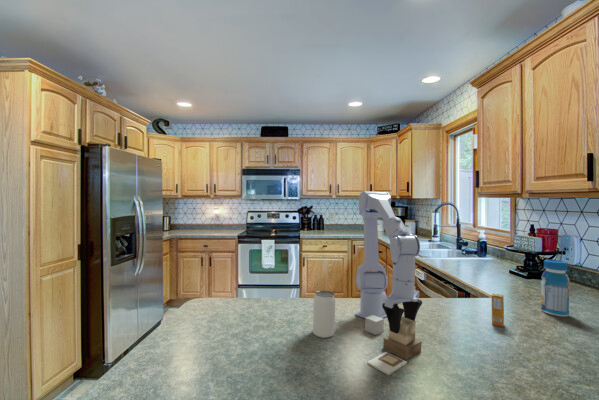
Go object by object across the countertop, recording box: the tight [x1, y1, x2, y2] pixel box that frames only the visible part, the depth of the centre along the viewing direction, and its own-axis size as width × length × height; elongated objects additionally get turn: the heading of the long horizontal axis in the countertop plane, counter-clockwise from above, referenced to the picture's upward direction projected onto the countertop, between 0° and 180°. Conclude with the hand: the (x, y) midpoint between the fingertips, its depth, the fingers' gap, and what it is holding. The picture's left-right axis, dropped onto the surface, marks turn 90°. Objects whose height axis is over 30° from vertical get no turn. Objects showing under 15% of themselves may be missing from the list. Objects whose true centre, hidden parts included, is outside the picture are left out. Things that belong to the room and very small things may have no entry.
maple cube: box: [388, 316, 417, 345], centre depth 78 cm, size 5×5×5 cm
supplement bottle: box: [540, 259, 571, 317], centre depth 110 cm, size 8×8×20 cm
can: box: [312, 290, 336, 339], centre depth 86 cm, size 6×6×12 cm
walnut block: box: [383, 335, 422, 360], centre depth 78 cm, size 7×7×3 cm
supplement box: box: [491, 293, 505, 328], centre depth 97 cm, size 3×3×10 cm
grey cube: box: [364, 315, 385, 336], centre depth 89 cm, size 4×4×4 cm
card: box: [366, 351, 407, 376], centre depth 70 cm, size 8×6×1 cm
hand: (402, 328), depth 78 cm, fingers open, 7 cm apart
